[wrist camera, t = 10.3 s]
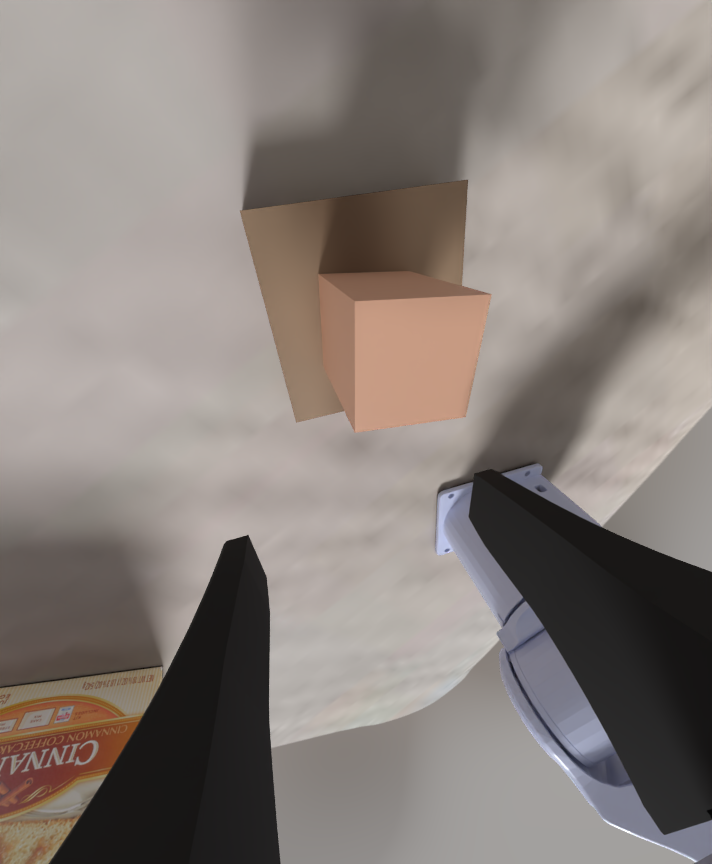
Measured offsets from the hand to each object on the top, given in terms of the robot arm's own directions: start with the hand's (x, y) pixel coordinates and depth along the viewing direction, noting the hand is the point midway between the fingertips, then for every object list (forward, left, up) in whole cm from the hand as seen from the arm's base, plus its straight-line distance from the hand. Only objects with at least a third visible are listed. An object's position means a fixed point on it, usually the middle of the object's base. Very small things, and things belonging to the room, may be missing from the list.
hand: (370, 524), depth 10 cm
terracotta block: (-2, -4, -8) cm, 9 cm away
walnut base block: (-3, -4, -11) cm, 12 cm away
